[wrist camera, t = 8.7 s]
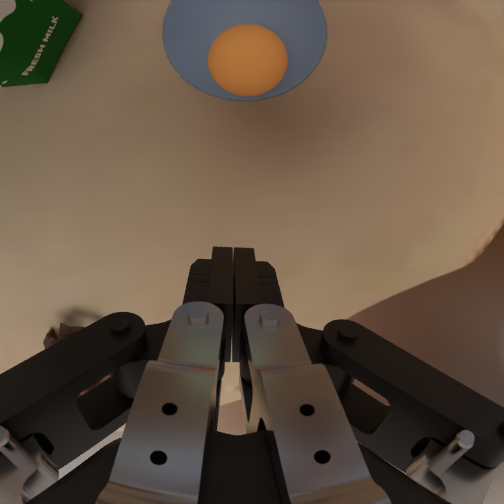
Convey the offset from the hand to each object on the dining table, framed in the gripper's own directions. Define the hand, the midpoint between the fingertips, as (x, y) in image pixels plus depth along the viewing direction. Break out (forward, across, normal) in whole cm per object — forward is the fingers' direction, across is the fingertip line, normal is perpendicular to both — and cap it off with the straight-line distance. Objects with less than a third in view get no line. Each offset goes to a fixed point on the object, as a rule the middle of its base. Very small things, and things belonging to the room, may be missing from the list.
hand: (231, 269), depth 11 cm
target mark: (+15, 0, -13) cm, 20 cm away
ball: (+12, 0, -10) cm, 15 cm away
